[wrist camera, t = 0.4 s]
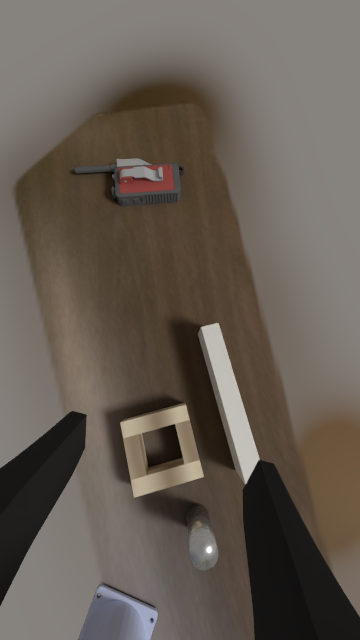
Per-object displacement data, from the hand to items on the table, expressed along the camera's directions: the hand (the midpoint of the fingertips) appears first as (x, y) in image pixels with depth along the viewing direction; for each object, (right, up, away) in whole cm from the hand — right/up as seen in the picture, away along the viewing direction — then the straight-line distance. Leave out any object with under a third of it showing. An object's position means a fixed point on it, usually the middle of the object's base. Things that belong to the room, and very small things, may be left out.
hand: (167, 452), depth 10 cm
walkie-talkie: (-9, +30, +36) cm, 47 cm away
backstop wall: (+7, -6, +26) cm, 28 cm away
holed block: (-2, -12, +24) cm, 27 cm away
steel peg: (+3, -21, +23) cm, 31 cm away
